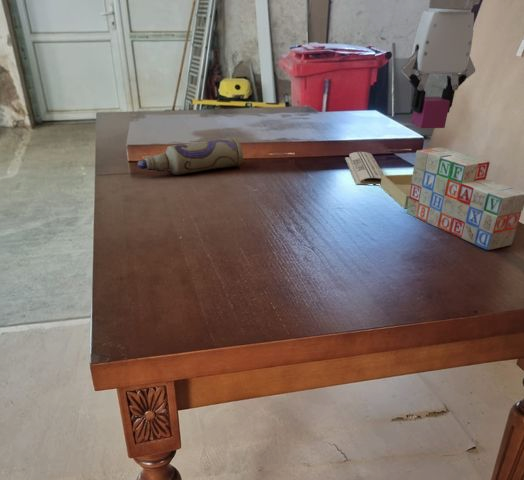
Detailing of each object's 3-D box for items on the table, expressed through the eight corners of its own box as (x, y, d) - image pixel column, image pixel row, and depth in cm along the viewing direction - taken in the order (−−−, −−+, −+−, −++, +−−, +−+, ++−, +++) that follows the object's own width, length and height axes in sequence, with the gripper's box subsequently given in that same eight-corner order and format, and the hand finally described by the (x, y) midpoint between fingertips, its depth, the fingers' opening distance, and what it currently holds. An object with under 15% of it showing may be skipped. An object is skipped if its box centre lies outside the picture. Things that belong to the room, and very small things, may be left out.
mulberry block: (434, 122, 109) (439, 96, 106) (444, 128, 105) (450, 100, 102) (411, 123, 108) (415, 96, 105) (421, 128, 104) (426, 100, 101)
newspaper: (386, 185, 120) (387, 177, 119) (355, 184, 120) (356, 176, 119) (371, 158, 140) (372, 151, 139) (344, 158, 140) (345, 151, 139)
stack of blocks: (512, 245, 92) (534, 174, 85) (487, 251, 90) (507, 179, 83) (429, 208, 108) (441, 145, 101) (405, 212, 105) (416, 148, 98)
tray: (426, 185, 121) (428, 173, 120) (455, 206, 109) (458, 194, 108) (379, 186, 119) (381, 175, 118) (404, 208, 108) (406, 195, 106)
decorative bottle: (230, 161, 135) (230, 134, 131) (244, 169, 130) (244, 141, 126) (133, 174, 124) (129, 144, 121) (143, 182, 119) (140, 152, 115)
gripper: (484, 3, 99) (461, 108, 109) (398, 1, 96) (383, 108, 107) (505, 4, 93) (479, 115, 103) (414, 2, 90) (396, 115, 100)
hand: (430, 110), depth 105 cm, fingers closed on mulberry block, 5 cm apart
